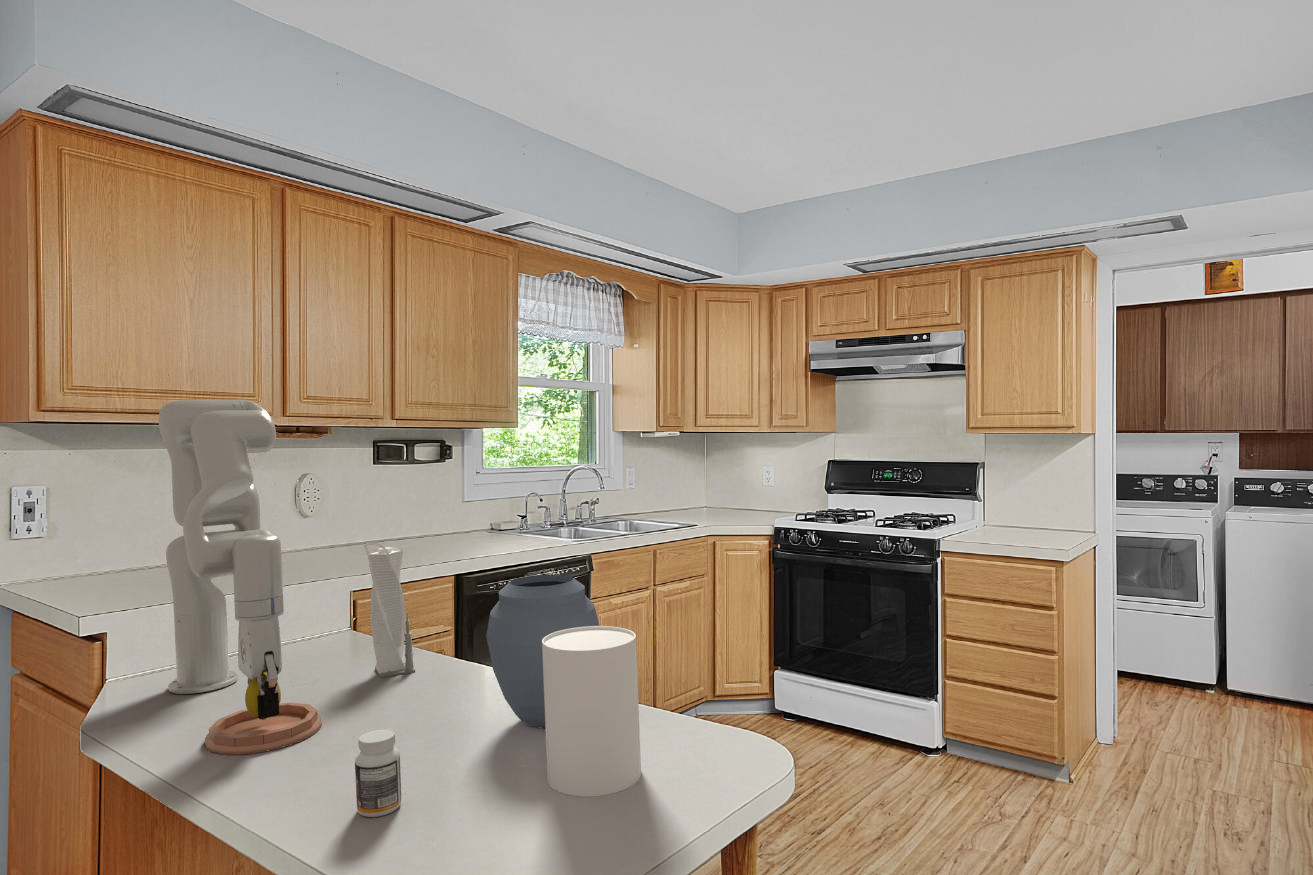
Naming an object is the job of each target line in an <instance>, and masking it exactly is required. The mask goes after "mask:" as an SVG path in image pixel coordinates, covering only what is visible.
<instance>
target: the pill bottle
mask: <svg viewBox="0 0 1313 875" xmlns="http://www.w3.org/2000/svg"><path fill="white" fill-rule="evenodd" d="M395 734H396V733H395V731H393V730H391V729H376V730H372V731H371V730H370V731H368V732H365V733H363V734H362V735H360V736H359V737H358V748H359V750H360V752H359V753H358V754H357V755H356V757H355V758H354V759H355V761H354V770H355V772H354V774H355V792H356V793H355V794H356V795H355V796H356V797H355V798H356V811H357V813H358V814H359V815H361V816H362V817H366V818H377V817H382V816H387V815H389V814H391V813H393V812H394V811H396V810H397V809H398V808H400V806H401V804H402V781H401V780H402V779H401V778H402V777H401V754H400V751H399V749H398V748H397V747H396V746H395V743H396V735H395Z"/></svg>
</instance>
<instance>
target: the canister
mask: <svg viewBox="0 0 1313 875" xmlns="http://www.w3.org/2000/svg"><path fill="white" fill-rule="evenodd" d="M542 652H543V677H544V702H545V726H546V728H545V745H546V748H545V749H546V770H547V771H546V772H547V773H546V775H547V783H548V784H549V786H550V787H551V789H554V790H555V791H556V790H557V791H556V792H559V793H560V794H564V795H569V796H575V797H598V796H601V797H602V796H607V795H612V794H615V793H618V792H622V791H624V790H626V789H629V788H631V787H632V786H633V785H635V784H636V783H637V782H638V781H639V780H640V778H641V776H642V763H641V762H642V759H641V758H642V757H641V736H640V735H641V734H640V733H641V731H640V710H639V708H640V707H639V685H638V684H639V682H638V679H639V678H638V659H637V658H638V656H637V635H636V633H635V632H634V631H633V630H630V629H627V628H624V627H619V626H610V625H609V626H608V625H600V626H588V627H577V628H570V629H565V630H561V631H557V632H554V633H551V634H549V635H547V636H546V637H544V638H543V640H542Z"/></svg>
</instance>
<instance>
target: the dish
mask: <svg viewBox="0 0 1313 875" xmlns="http://www.w3.org/2000/svg"><path fill="white" fill-rule="evenodd" d="M322 720H323V719H322V716H321V715H320V714H319V713H318V709H316V708H315V707H314V706H312V705H311V704H310V703H308V704H307V703H300V702H299V703H298V702H280V704H279V714H278V715H277V716H273V717H269V718H267V719H266V720H261V719H259V718H258V717H255V716H253V715H251V714H250V713H249V711H248V710H247V708H245V709H240V710H238V711H235V712H233V713H230V714H228V715H225V716H224V717H221V718H219V719H217V720H216V721H215V722H214V723H213V724H211V726H210V727H209V728H208V733H207V734H206V735H205V737H204V745H205V746H204V747H205V749H206V750H207V751H208V750H209V752H210V753H213V752H214V753H213V754H218V755H226V756H228V755H230V756H240V755H250V754H251V755H252V754H259V753H258V752H260V753H265V752H264V751H266V752H268V751H267V750H271V751H274V750H273V749H275V750H278V749H277V748H279V749H282V748H281V747H283V746H286V747H288V745H289V746H291V745H290V744H292V745H295V744H297V743H296V742H298V743H299V741H300V742H302V741H305V740H307V739H308V737H309V738H310V737H312V736H313V734H314V735H315V734H316V733H318V731H320V729H321V728H322V724H323V723H322ZM306 738H307V739H306ZM304 739H305V740H304ZM301 740H302V741H301ZM294 743H295V744H294ZM283 748H284V747H283Z"/></svg>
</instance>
